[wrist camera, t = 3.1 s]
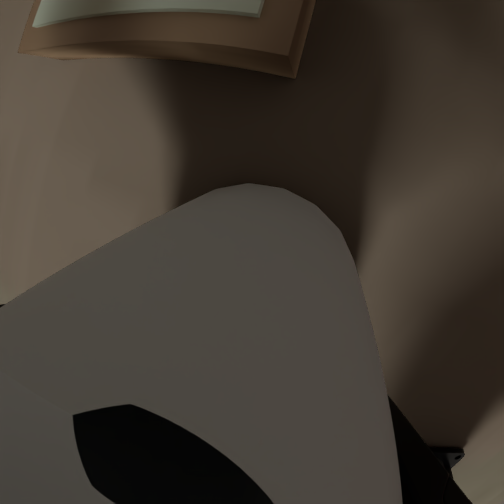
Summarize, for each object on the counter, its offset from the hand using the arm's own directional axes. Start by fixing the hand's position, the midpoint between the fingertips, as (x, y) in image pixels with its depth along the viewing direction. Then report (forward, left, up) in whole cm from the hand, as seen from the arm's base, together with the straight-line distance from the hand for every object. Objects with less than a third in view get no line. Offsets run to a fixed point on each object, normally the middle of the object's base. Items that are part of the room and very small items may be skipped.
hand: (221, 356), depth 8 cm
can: (0, 0, -5) cm, 5 cm away
